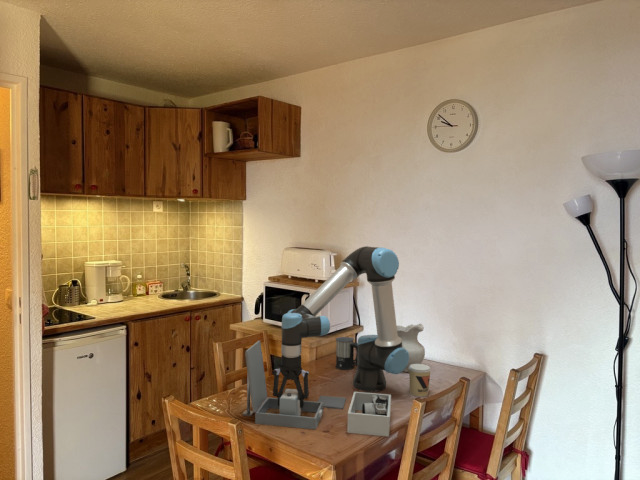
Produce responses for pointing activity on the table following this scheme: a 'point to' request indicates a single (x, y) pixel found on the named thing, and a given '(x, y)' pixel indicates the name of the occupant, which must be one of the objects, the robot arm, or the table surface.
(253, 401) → the lid
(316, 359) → the table surface
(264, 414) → the case
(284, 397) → the block
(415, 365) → the coffee cup
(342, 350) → the milk frother
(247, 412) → the stay rod
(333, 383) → the table surface
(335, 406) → the mat
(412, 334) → the ceramic pitcher
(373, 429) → the crate
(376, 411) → the camera
